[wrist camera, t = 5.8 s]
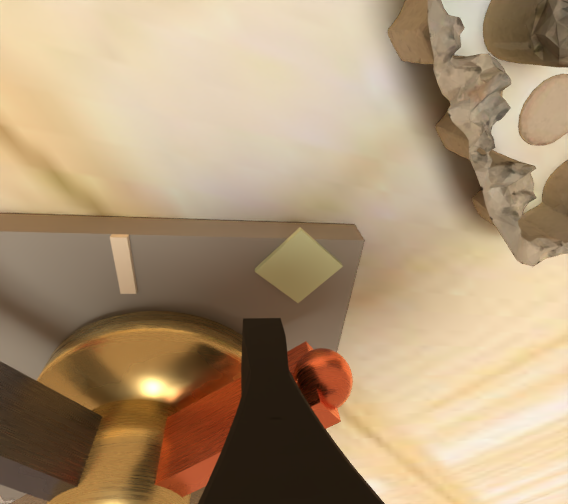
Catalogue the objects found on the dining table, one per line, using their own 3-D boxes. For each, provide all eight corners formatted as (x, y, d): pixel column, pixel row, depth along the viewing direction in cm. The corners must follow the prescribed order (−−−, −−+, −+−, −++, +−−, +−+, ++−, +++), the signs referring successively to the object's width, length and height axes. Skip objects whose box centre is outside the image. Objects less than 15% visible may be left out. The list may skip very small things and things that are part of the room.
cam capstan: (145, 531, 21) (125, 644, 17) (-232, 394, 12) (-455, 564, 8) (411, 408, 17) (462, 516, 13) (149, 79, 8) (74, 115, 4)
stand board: (302, 455, 21) (306, 480, 20) (16, 476, 19) (1, 505, 18) (356, 213, 13) (369, 231, 12) (-154, 195, 10) (-204, 215, 9)
